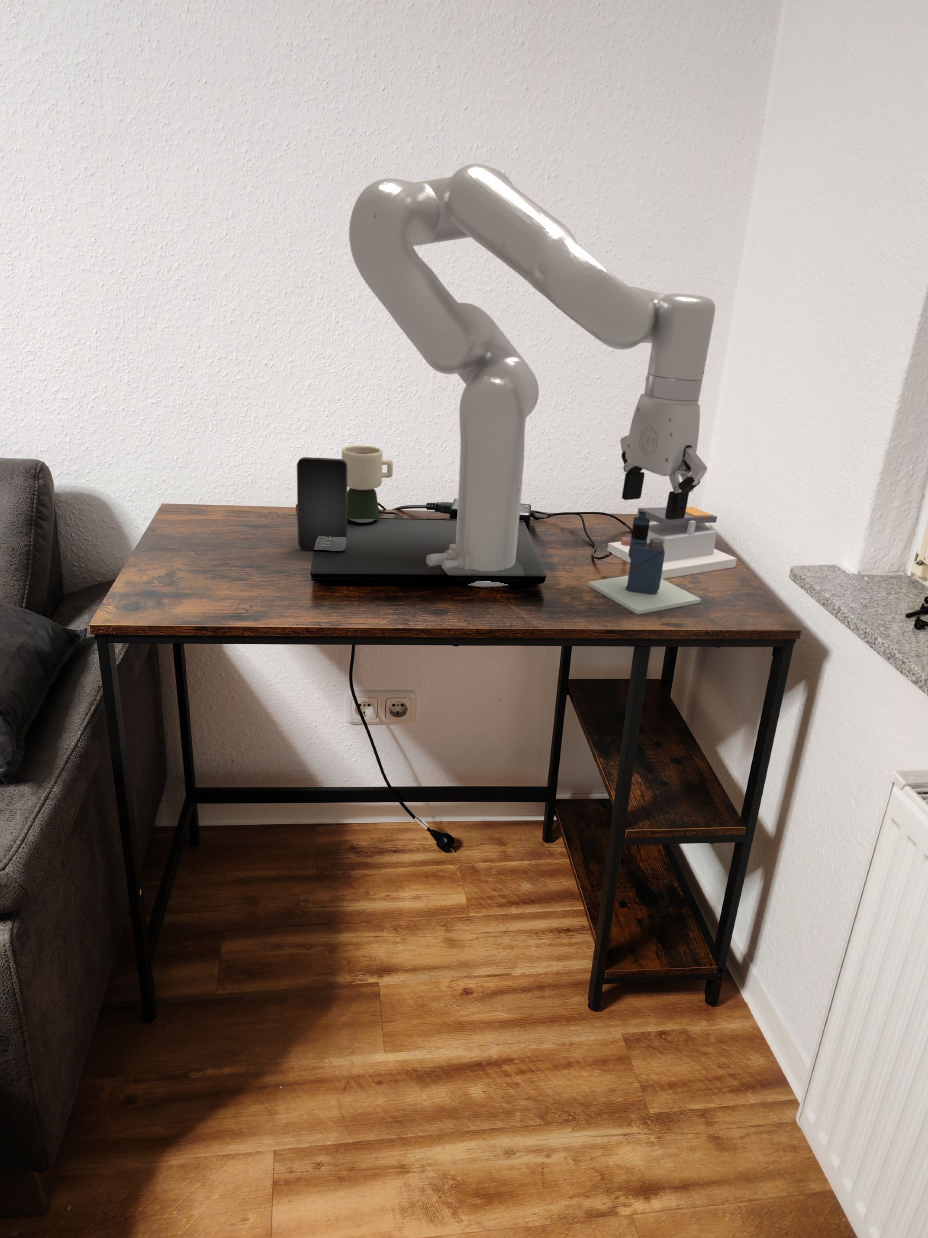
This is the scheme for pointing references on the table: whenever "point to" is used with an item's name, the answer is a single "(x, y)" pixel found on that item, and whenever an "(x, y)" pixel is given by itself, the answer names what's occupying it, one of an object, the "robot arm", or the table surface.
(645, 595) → the mat
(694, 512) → the plate
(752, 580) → the table surface
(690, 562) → the white rocker switch base
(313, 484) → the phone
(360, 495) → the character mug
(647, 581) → the vaping device
